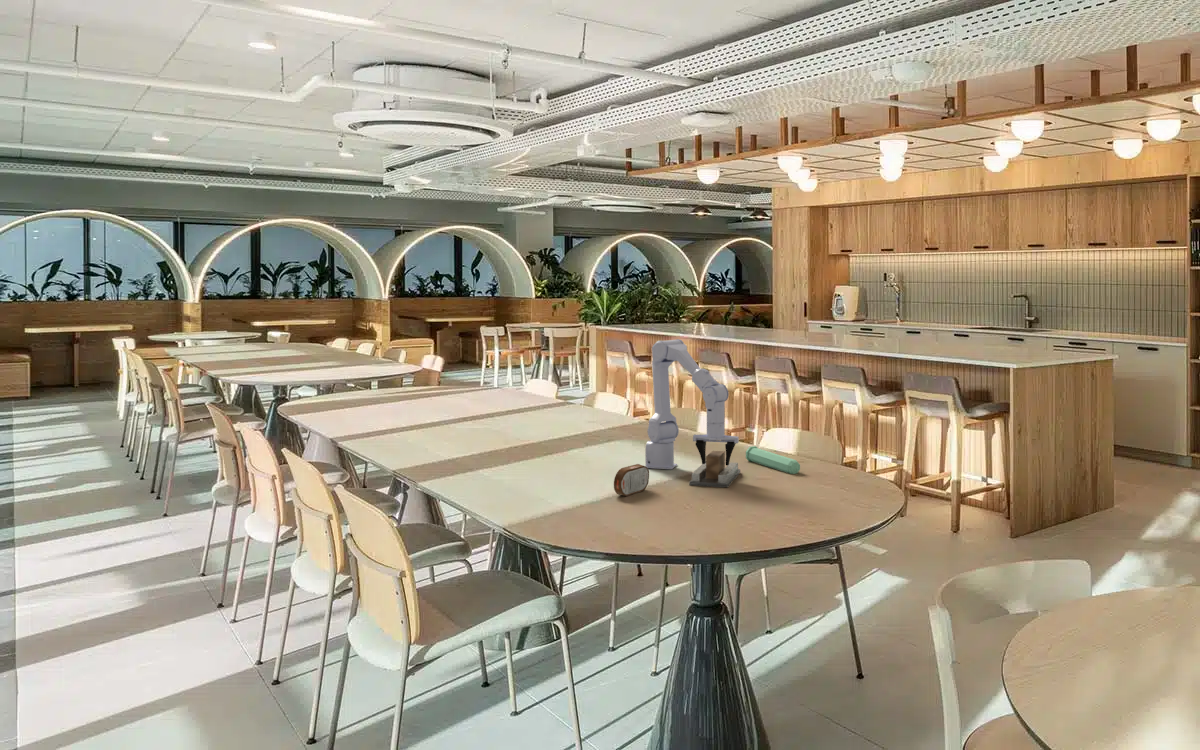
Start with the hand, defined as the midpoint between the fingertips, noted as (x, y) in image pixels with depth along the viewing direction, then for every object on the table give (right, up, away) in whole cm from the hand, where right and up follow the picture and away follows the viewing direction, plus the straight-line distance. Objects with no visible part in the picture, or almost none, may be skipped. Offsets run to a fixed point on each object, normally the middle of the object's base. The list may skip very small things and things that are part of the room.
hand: (715, 464), depth 288 cm
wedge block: (0, -4, 0) cm, 4 cm away
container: (+22, -3, +17) cm, 28 cm away
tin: (-27, -7, -17) cm, 33 cm away
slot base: (0, -5, +1) cm, 5 cm away
